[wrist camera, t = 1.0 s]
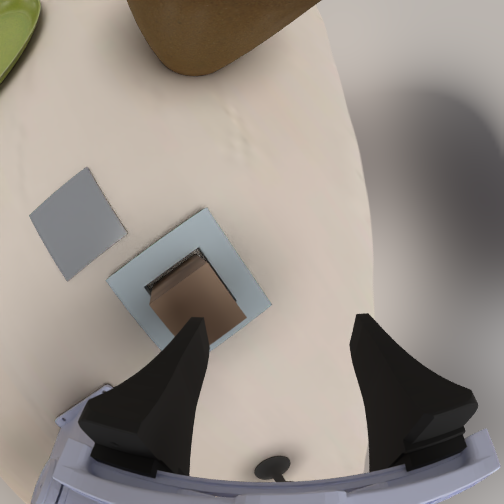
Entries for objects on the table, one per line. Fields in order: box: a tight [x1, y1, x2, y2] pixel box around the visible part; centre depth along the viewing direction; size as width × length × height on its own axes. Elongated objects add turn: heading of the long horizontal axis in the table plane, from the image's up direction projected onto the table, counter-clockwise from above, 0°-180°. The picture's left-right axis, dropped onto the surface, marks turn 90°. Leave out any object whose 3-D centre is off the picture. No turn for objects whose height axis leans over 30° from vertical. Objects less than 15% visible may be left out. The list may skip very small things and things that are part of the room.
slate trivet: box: [29, 167, 128, 281], centre depth 20 cm, size 7×7×1 cm
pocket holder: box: [106, 207, 272, 352], centre depth 23 cm, size 10×10×2 cm
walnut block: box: [149, 254, 247, 345], centre depth 20 cm, size 4×4×7 cm
